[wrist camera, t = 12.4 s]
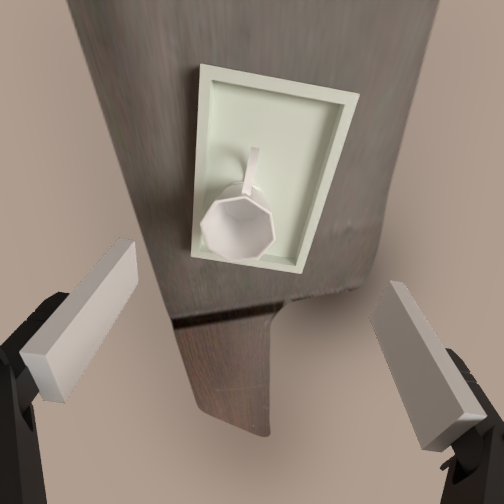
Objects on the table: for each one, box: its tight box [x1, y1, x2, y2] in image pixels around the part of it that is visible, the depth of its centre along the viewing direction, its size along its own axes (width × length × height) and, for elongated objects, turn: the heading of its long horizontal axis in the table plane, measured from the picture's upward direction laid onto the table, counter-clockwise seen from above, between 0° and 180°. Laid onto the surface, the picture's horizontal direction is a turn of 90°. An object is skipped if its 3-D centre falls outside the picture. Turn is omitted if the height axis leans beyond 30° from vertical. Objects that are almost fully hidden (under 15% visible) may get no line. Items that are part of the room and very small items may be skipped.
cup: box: [200, 147, 276, 263], centre depth 28 cm, size 7×10×8 cm
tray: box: [191, 64, 360, 274], centre depth 30 cm, size 20×14×2 cm
